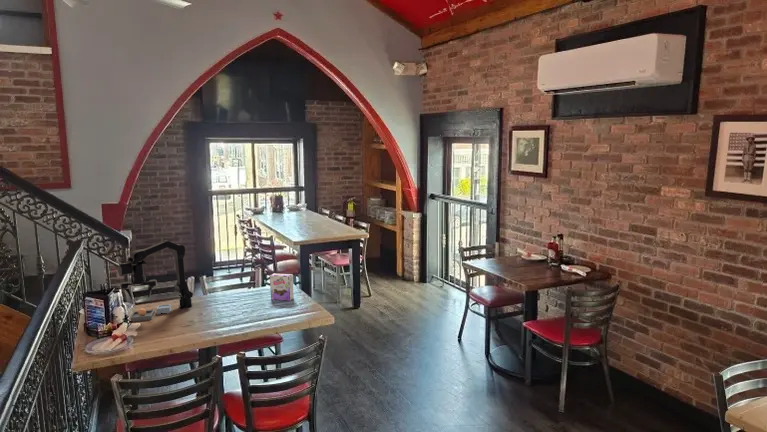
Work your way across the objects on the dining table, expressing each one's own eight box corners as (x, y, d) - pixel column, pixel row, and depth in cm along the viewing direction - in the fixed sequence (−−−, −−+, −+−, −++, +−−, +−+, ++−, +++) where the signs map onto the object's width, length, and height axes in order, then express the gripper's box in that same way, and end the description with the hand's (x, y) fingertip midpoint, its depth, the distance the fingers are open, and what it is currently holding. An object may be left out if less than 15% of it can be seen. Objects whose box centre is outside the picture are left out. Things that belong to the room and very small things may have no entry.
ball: (147, 314, 314) (146, 306, 313) (145, 316, 309) (145, 309, 309) (139, 314, 313) (138, 307, 312) (137, 317, 308) (137, 309, 308)
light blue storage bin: (171, 309, 325) (170, 304, 324) (169, 313, 318) (169, 307, 318) (158, 310, 323) (158, 305, 323) (156, 314, 316) (156, 308, 316)
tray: (155, 313, 318) (154, 309, 318) (151, 319, 307) (151, 315, 307) (133, 315, 315) (133, 311, 315) (129, 321, 304) (129, 317, 304)
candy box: (270, 300, 339) (269, 275, 337) (275, 297, 345) (273, 272, 343) (290, 301, 335) (288, 276, 333) (294, 298, 341) (292, 273, 339)
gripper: (157, 268, 318) (159, 293, 320) (123, 270, 313) (126, 296, 315) (154, 272, 307) (156, 298, 309) (119, 274, 302) (122, 301, 304)
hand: (140, 298), depth 310 cm, fingers open, 9 cm apart
